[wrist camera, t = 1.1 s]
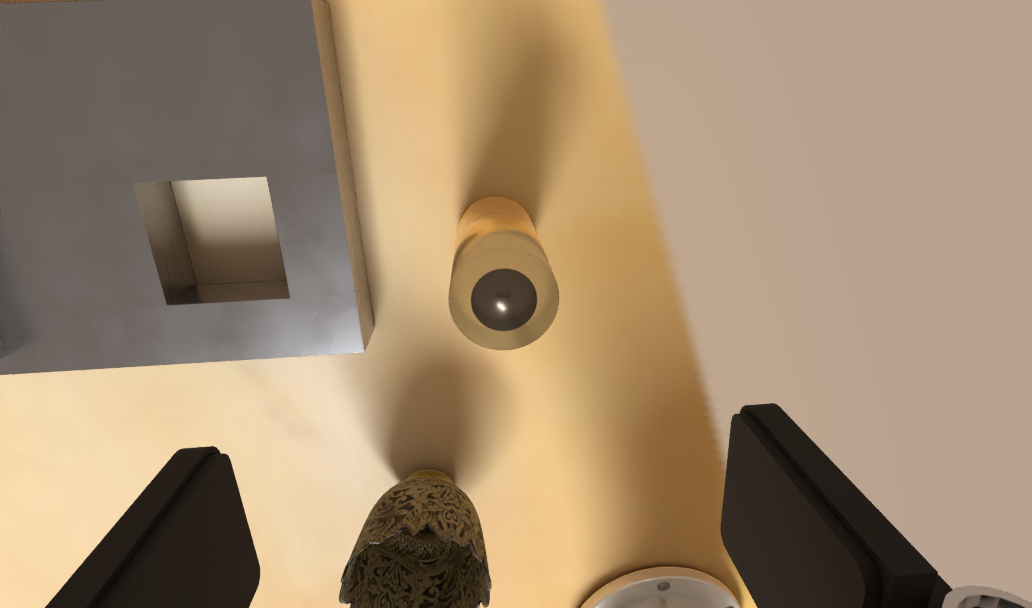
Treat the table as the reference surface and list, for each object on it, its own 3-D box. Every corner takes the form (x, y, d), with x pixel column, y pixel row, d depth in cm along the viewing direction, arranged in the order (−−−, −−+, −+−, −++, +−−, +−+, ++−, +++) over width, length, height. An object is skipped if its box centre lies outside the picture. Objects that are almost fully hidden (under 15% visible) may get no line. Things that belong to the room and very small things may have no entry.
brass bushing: (534, 268, 30) (559, 347, 21) (460, 272, 30) (452, 353, 21) (532, 193, 29) (558, 243, 20) (455, 197, 29) (444, 250, 19)
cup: (408, 417, 33) (387, 512, 26) (511, 471, 35) (520, 574, 28) (347, 504, 35) (312, 615, 28) (448, 550, 37) (440, 667, 30)
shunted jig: (374, 328, 31) (355, 371, 26) (-1, 351, 30) (-89, 399, 25) (328, 4, 25) (294, -16, 21) (-136, 19, 24) (-282, 3, 20)
